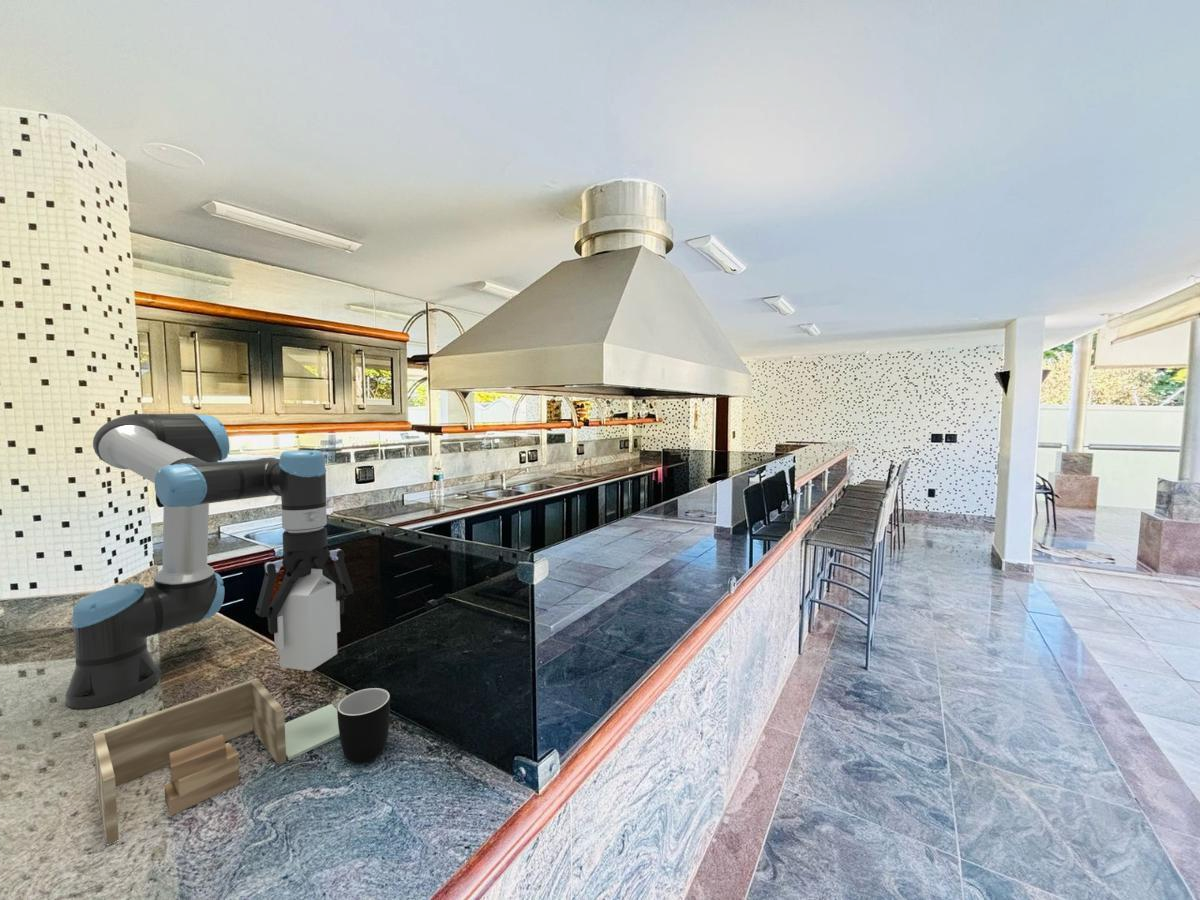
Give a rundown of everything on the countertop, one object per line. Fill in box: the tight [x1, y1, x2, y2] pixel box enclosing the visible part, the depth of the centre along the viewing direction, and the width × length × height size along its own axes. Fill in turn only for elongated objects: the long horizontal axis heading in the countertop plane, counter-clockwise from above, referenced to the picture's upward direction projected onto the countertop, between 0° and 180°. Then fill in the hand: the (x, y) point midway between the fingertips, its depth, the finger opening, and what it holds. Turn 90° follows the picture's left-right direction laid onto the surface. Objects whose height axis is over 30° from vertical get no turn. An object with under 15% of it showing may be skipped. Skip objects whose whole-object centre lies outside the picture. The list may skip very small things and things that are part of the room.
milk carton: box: [278, 569, 338, 672], centre depth 96 cm, size 7×7×19 cm
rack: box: [92, 677, 287, 845], centre depth 85 cm, size 17×23×10 cm
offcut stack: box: [163, 734, 240, 817], centre depth 82 cm, size 6×9×8 cm, turn 140°
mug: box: [336, 687, 391, 764], centre depth 92 cm, size 12×9×10 cm
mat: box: [285, 703, 340, 761], centre depth 98 cm, size 12×12×1 cm
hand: (308, 638), depth 97 cm, fingers closed on milk carton, 9 cm apart
